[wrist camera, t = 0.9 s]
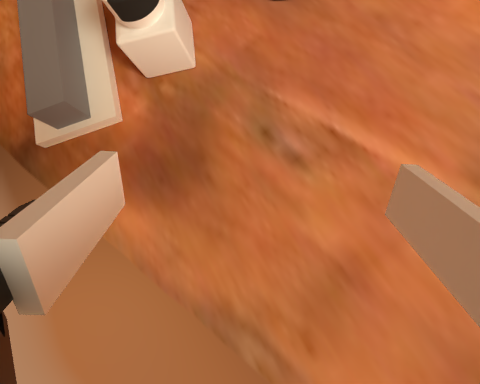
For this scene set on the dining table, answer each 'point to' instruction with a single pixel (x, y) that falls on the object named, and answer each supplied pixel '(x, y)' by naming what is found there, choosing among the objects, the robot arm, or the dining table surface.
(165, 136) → the dining table surface
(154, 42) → the medicine bottle
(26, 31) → the stand
